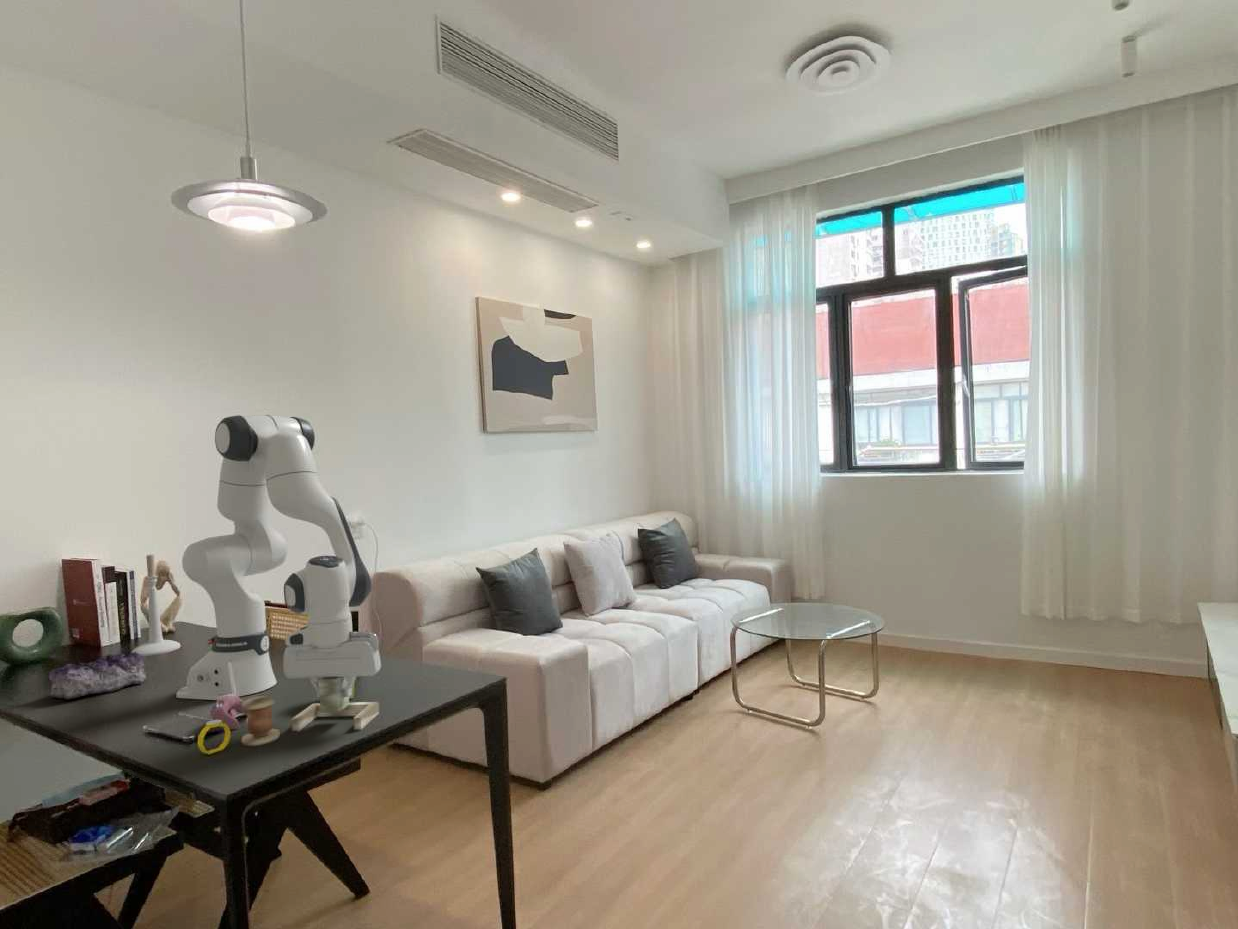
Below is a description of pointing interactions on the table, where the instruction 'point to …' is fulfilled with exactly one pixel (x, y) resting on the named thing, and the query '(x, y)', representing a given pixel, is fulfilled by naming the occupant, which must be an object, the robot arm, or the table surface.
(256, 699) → the bobbin
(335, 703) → the block
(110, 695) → the table surface
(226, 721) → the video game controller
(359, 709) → the beige u-shaped bracket
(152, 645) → the candlestick
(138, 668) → the geode
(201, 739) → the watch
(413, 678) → the table surface
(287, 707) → the table surface
